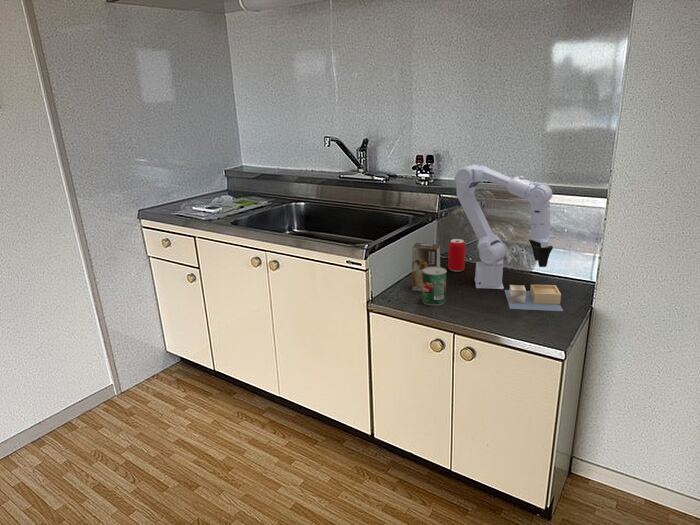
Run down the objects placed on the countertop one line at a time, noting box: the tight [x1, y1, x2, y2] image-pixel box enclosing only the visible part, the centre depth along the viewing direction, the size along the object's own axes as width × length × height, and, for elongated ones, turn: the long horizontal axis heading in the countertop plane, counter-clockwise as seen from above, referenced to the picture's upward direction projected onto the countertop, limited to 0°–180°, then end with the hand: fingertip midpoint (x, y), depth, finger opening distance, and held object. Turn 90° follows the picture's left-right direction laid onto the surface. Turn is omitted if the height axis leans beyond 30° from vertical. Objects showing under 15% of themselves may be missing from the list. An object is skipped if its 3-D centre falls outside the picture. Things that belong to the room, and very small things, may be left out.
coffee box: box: [411, 242, 441, 292], centre depth 173 cm, size 9×6×16 cm
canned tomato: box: [421, 266, 448, 307], centre depth 163 cm, size 8×8×11 cm
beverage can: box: [447, 238, 466, 273], centre depth 191 cm, size 6×6×12 cm
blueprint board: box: [504, 284, 564, 312], centre depth 161 cm, size 16×16×4 cm
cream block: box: [509, 284, 527, 303], centre depth 160 cm, size 4×4×4 cm
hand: (540, 263), depth 161 cm, fingers open, 7 cm apart
